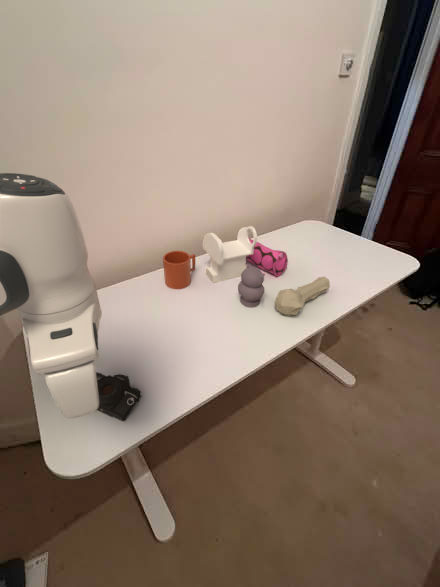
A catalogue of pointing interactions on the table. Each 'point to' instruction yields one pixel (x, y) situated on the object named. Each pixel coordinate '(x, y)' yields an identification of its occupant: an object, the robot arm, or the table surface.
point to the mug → (178, 269)
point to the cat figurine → (251, 286)
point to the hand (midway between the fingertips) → (85, 379)
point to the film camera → (116, 395)
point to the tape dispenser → (228, 254)
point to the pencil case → (268, 259)
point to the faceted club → (300, 296)
